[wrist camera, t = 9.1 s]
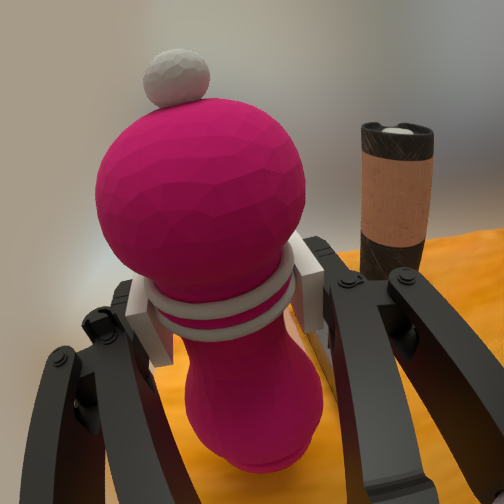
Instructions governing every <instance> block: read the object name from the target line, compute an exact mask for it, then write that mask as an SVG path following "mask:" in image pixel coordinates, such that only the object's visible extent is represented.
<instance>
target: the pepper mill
mask: <svg viewBox="0 0 504 504" xmlns="http://www.w3.org/2000/svg"><path fill="white" fill-rule="evenodd" d="M209 81H210V73H209V69H208V66H207V64H206V63H205V61H204V59H203V58H202V57H201V56H200V55H198V54H197V53H195V52H193V51H191V50H188V49H178V48H177V49H171V50H166V51H165V52H163V53H161V54H159V55H157V56H156V57H155V58H154V59H153V60H152V61H151V63H150V64H149V65H148V67H147V68H146V70H145V75H144V78H143V83H144V90H145V93H146V95H147V97H148V98H149V100H150V101H151V102H152V103H154V104H155V105H157V106H158V107H160V109H157V110H155V111H153V112H151V113H149V114H147V115H145V116H143V117H141V118H140V119H138V120H137V121H136V122H134V123H133V124H132V125H130V126H129V127H128V128H126V129H125V130H124V131H123V132H122V133H121V134H120V135H119V137H118V138H117V139H116V140H115V141H114V142H113V144H112V145H111V146H110V148H109V149H108V151H107V153H106V154H105V156H104V158H103V160H102V162H101V165H100V168H99V171H98V174H97V181H96V189H95V200H96V207H97V214H98V219H99V222H100V225H101V229H102V232H103V235H104V237H105V239H106V241H107V242H108V244H109V246H110V248H111V249H112V251H113V252H114V254H115V255H116V256H117V258H118V259H119V260H120V261H121V262H122V263H123V264H124V265H126V266H127V267H128V268H130V269H131V270H133V271H134V272H136V273H137V274H139V275H142V276H144V288H145V292H146V295H147V297H148V298H149V300H150V301H151V302H152V304H153V309H154V312H155V315H156V317H157V319H158V320H159V322H160V323H161V324H162V325H163V326H164V327H165V328H166V329H168V330H169V331H170V332H172V333H174V334H176V335H178V336H180V337H181V338H182V340H183V342H184V345H185V347H186V350H187V353H188V356H189V360H190V366H189V370H188V374H187V378H186V384H185V406H186V413H187V416H188V419H189V422H190V424H191V426H192V428H193V430H194V431H195V433H196V435H197V436H198V438H199V439H200V441H201V442H202V443H203V444H204V445H205V446H206V447H207V448H208V449H210V450H211V451H212V452H214V453H215V454H217V455H218V456H221V457H223V458H225V459H226V460H227V461H228V462H229V463H230V464H232V465H233V466H235V467H237V468H239V469H241V470H243V471H247V472H251V473H258V474H260V473H271V472H276V471H280V470H282V469H285V468H287V467H289V466H291V465H292V464H293V463H295V462H296V461H297V460H299V459H300V458H301V457H302V455H303V454H304V453H305V452H306V450H307V448H308V446H309V444H310V442H311V439H312V435H313V433H314V432H315V430H316V428H317V426H318V424H319V422H320V419H321V416H322V411H323V392H322V386H321V381H320V377H319V375H318V373H317V371H316V369H315V367H314V365H313V363H312V362H311V360H310V359H309V357H308V356H307V354H306V353H305V352H304V351H303V350H302V349H301V348H300V346H299V345H298V344H297V343H296V342H295V341H294V340H293V339H292V338H291V336H290V335H289V334H288V332H287V330H286V326H285V321H284V310H285V309H286V308H287V306H288V305H289V303H290V301H291V300H292V298H293V295H294V292H295V288H296V276H295V273H294V270H293V266H294V253H293V249H292V247H291V245H290V243H289V242H288V240H289V238H290V237H291V235H292V234H293V233H294V231H295V229H296V227H297V225H298V224H299V221H300V219H301V215H302V212H303V209H304V206H305V177H304V171H303V166H302V162H301V160H300V157H299V154H298V151H297V149H296V147H295V145H294V143H293V141H292V140H291V138H290V136H289V135H288V134H287V132H286V131H285V130H284V129H283V127H282V126H281V125H280V124H279V123H278V122H277V121H276V120H275V119H273V118H272V117H271V116H269V115H268V114H267V113H265V112H264V111H262V110H260V109H258V108H256V107H254V106H252V105H249V104H246V103H243V102H239V101H233V100H226V99H219V98H210V99H201V98H202V97H203V95H204V94H205V93H206V90H207V89H208V86H209Z"/></svg>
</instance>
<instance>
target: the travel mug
mask: <svg viewBox="0 0 504 504" xmlns="http://www.w3.org/2000/svg"><path fill="white" fill-rule="evenodd" d="M361 138H362V139H361V140H362V208H361V210H362V211H361V247H360V273H361V274H362V275H364V276H365V278H366V279H367V280H372V281H376V280H388V279H389V274H390V272H391V271H392V270H394V269H396V268H400V267H407V268H412V269H414V270H416V271H418V270H419V266H420V261H421V257H422V252H423V248H424V243H425V236H426V231H427V224H428V216H429V207H430V198H431V186H432V172H433V151H434V150H433V149H434V133H433V131H432V130H431V129H429V128H427V127H424V126H420V125H415V124H409V123H400V124H398V125H397V126H395V127H385V126H382V125H381V124H380V123H378V122H370V123H365V124H363V125H362V126H361Z"/></svg>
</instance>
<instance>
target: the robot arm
mask: <svg viewBox="0 0 504 504" xmlns="http://www.w3.org/2000/svg"><path fill="white" fill-rule="evenodd" d="M288 242H289V243H290V245H291V247H292V249H293V253H294V266H293V270H294V273H295V276H296V288H295V292H294V295H293V298H292V300H291V301H290V303H291V306H292V308H293V310H294V312H295V314H296V316H297V319H298V321H299V323H300V325H301V327H302V330H303V332H304V334H307V333H310V332H314V331H317V330H320V329H324V319H325V321H326V323H327V325H328V347H327V349H329V348H330V351H331V357H332V364H333V371H334V378H335V385H336V393H337V400H338V408H339V417H340V425H341V434H342V444H343V454H344V465H345V477H346V491H347V504H439V500H438V494H437V490H436V487H435V485H434V483H433V481H432V480H430V479H429V478H428V477H426V476H425V474H424V472H423V468H422V463H421V458H420V453H419V448H418V444H417V439H416V435H415V431H414V426H413V422H412V418H411V414H410V410H409V406H408V403H407V399H406V395H405V392H404V388H403V384H402V381H401V378H400V374H399V371H398V367H397V364H396V361H395V358H396V359H397V361H398V362H399V364H400V366H401V367H402V369H403V370H404V372H405V374H406V375H407V377H408V378H409V380H410V382H411V383H412V385H413V387H414V388H415V390H416V391H417V393H418V395H419V396H420V398H421V400H422V401H423V403H424V405H425V406H426V408H427V410H428V412H429V413H430V415H431V417H432V418H433V420H434V422H435V424H436V425H437V427H438V429H439V431H440V432H441V434H442V436H443V438H444V440H445V441H446V443H447V445H448V447H449V449H450V451H451V452H452V454H453V456H454V458H455V460H456V462H457V464H458V466H459V468H460V469H461V471H462V473H463V475H464V477H465V479H466V481H467V483H468V485H469V487H470V488H471V490H472V492H473V493H474V495H475V496H476V498H477V499H478V500H479V501H480V503H481V504H504V368H503V366H502V365H501V364H500V363H499V361H498V360H497V359H496V358H495V356H494V355H493V354H492V352H491V351H490V350H489V349H488V348H487V346H486V345H485V344H484V343H483V341H482V340H481V339H480V338H479V337H478V335H477V334H476V333H475V332H474V331H473V330H472V328H471V327H470V326H469V325H468V324H467V323H466V322H465V320H464V319H463V318H462V317H461V316H460V315H459V314H458V312H457V311H456V310H455V309H454V308H453V307H452V306H451V305H450V304H449V303H448V302H447V300H446V299H445V298H444V297H443V296H442V295H441V294H440V293H439V292H438V291H437V290H436V289H435V288H434V287H433V286H432V285H431V284H430V283H429V281H428V280H427V279H426V278H425V277H424V276H423V275H422V274H421V273H419V272H418V271H416V270H414V269H412V268H407V267H400V268H396V269H394V270H392V271H391V272H390V274H389V279H388V280H376V281H372V280H367V279H366V278H365V276H364V275H362V274H361V273H359V272H356V271H352V270H349V269H348V267H347V266H346V265H345V264H344V262H343V261H342V260H341V259H340V258H339V256H338V255H337V254H335V251H334V250H333V249H332V248H331V247H330V245H329V244H328V243H327V242H326V241H325V240H323V239H321V238H320V237H318V236H314V237H310V238H306V239H302V238H301V237H300V235H299V234H298V233H297V231H296V230H295V231H294V233H293V234H292V235H291V237H290V238H289V240H288ZM82 328H83V329H84V331H85V332H86V334H87V335H88V337H89V338H90V340H91V341H92V343H93V345H92V346H90V347H88V348H86V349H84V350H81V351H79V352H77V353H76V352H75V351H74V349H73V348H72V347H70V346H61V347H58V348H57V349H56V350H54V351H53V352H52V353H51V354H50V355H49V357H48V359H47V361H46V364H45V368H44V371H43V374H42V378H41V381H40V385H39V389H38V392H37V396H36V400H35V404H34V409H33V413H32V418H31V422H30V427H29V432H28V437H27V443H26V449H25V455H24V462H23V469H22V478H21V488H20V501H19V504H105V449H106V452H107V457H108V462H109V466H110V471H111V475H112V479H113V483H114V486H115V490H116V494H117V497H118V501H119V504H201V502H200V499H199V497H198V495H197V493H196V491H195V489H194V486H193V484H192V482H191V480H190V477H189V475H188V473H187V470H186V468H185V465H184V463H183V460H182V458H181V455H180V453H179V450H178V448H177V445H176V443H175V440H174V437H173V434H172V432H171V429H170V426H169V423H168V420H167V418H166V415H165V412H164V409H163V406H162V403H161V400H160V396H159V393H158V390H157V387H156V383H155V380H154V377H153V375H152V373H151V371H150V370H149V359H150V361H151V363H152V364H153V366H154V367H161V366H167V365H173V333H172V332H170V331H169V330H168V329H166V328H165V327H164V326H163V325H162V324H161V323H160V322H159V320H158V319H157V317H156V315H155V312H154V309H153V304H152V302H151V301H150V300H149V298H148V297H147V295H146V292H145V288H144V276H142V275H139V274H137V273H136V272H134V275H133V279H131V280H127V281H122V282H120V284H119V285H118V286H117V288H116V289H115V291H114V295H113V300H112V302H111V306H110V307H107V306H104V307H100V308H97V309H95V310H93V311H91V312H90V313H89V314H88V315H87V316H86V317H85V318H84V320H83V322H82ZM394 356H395V358H394ZM74 402H75V405H74Z"/></svg>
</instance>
